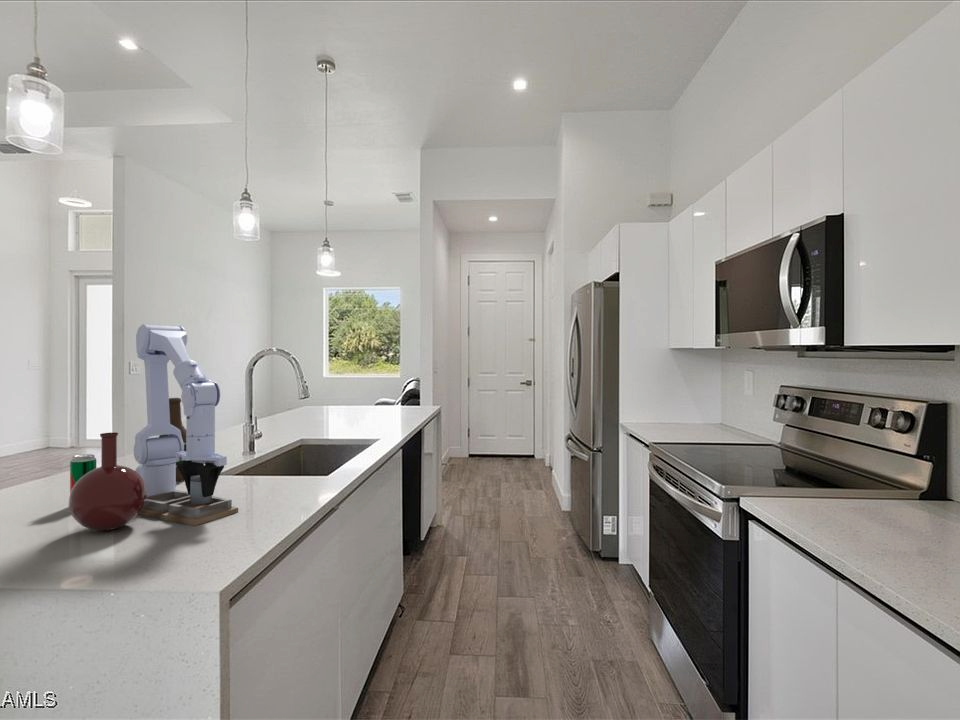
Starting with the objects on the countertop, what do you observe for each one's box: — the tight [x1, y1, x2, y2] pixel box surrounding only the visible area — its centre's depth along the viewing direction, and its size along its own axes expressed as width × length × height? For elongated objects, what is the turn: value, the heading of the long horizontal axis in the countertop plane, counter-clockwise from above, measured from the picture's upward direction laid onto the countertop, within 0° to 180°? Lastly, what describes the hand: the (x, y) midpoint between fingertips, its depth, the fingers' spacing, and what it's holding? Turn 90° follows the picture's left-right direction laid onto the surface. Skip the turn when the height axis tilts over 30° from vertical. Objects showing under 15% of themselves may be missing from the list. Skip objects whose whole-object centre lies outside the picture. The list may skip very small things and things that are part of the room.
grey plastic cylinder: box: [190, 474, 213, 505], centre depth 115 cm, size 4×4×6 cm
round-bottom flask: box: [68, 432, 147, 532], centre depth 106 cm, size 13×13×20 cm
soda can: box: [69, 453, 98, 494], centre depth 123 cm, size 5×5×12 cm
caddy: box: [138, 489, 239, 527], centre depth 118 cm, size 22×11×3 cm, turn 65°
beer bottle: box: [158, 397, 186, 483], centre depth 148 cm, size 8×8×24 cm
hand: (200, 494), depth 115 cm, fingers closed on grey plastic cylinder, 4 cm apart
